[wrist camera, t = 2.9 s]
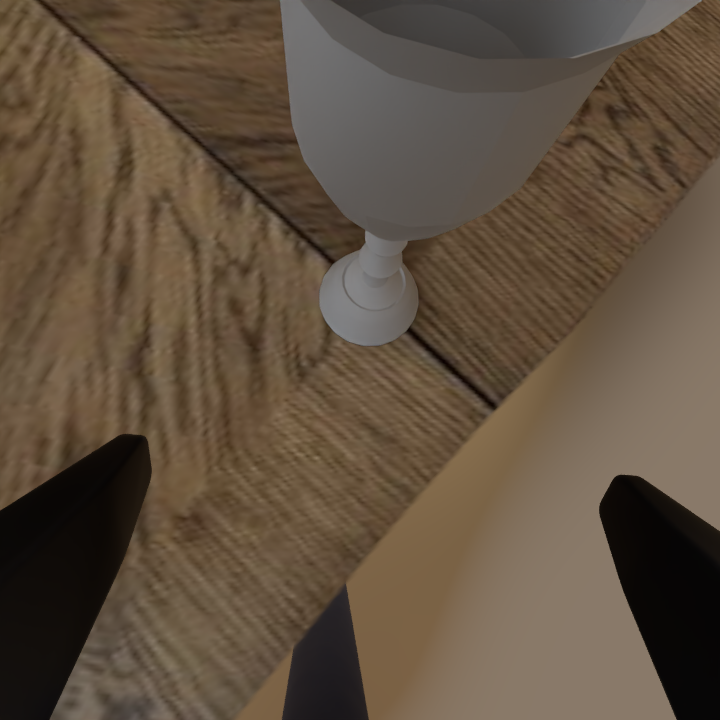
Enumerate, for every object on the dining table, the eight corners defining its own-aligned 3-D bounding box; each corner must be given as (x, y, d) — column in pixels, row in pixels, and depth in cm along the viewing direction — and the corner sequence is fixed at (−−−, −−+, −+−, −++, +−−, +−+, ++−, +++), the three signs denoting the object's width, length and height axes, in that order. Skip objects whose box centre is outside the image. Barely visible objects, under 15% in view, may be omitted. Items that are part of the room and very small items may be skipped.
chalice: (369, 395, 22) (534, 179, 5) (269, 301, 23) (92, -195, 5) (465, 292, 24) (860, -159, 6) (368, 207, 24) (483, -427, 7)
